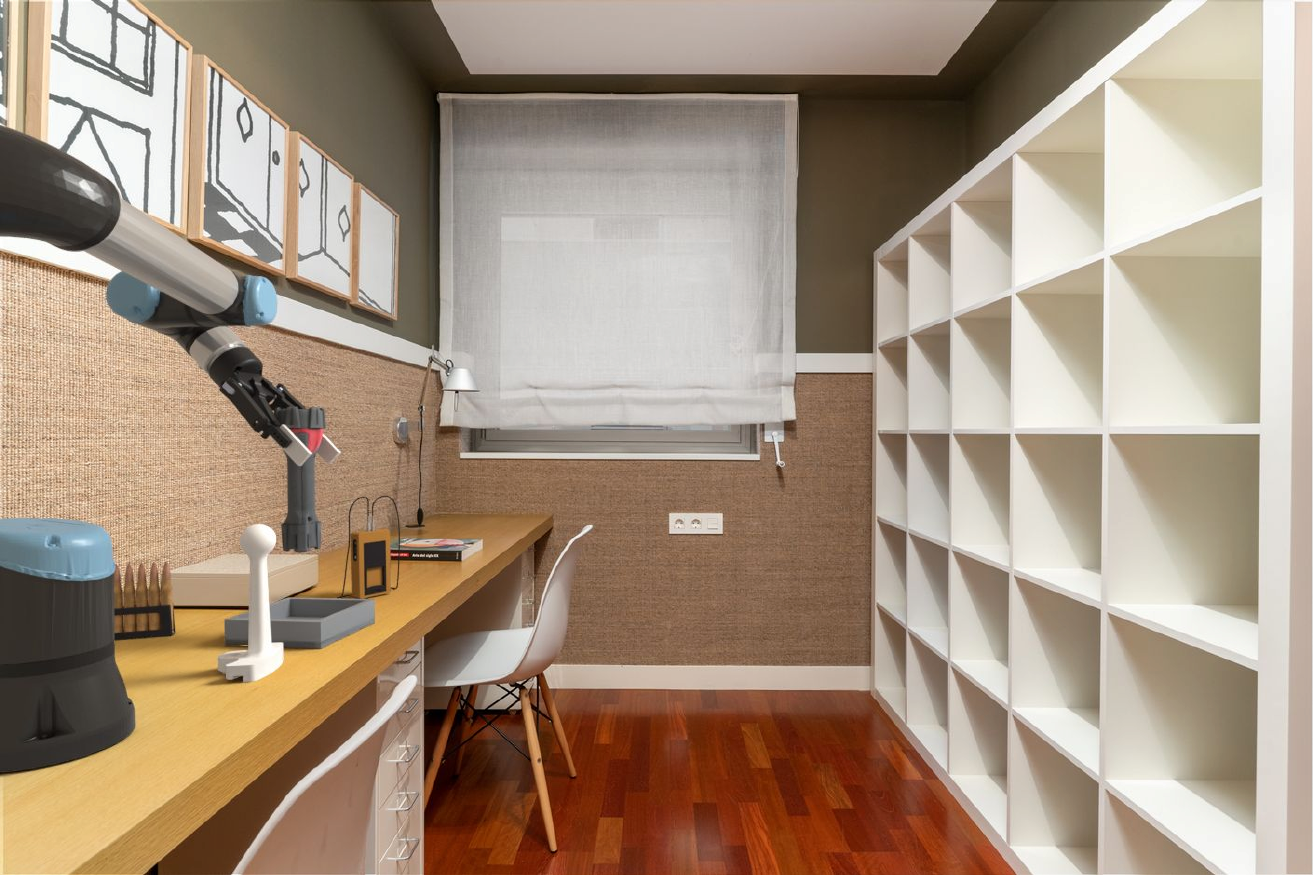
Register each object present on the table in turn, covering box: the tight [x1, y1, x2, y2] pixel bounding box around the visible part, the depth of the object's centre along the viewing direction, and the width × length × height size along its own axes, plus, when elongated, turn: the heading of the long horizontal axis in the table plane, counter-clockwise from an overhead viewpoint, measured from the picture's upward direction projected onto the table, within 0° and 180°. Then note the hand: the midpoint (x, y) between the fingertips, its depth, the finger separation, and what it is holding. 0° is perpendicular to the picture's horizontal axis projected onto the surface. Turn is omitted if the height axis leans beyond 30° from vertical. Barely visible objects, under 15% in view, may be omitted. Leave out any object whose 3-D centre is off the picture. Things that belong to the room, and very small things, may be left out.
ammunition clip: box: [114, 561, 177, 642], centre depth 126 cm, size 11×2×12 cm, turn 107°
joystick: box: [217, 523, 285, 683], centre depth 107 cm, size 11×8×20 cm
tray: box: [223, 596, 376, 650], centre depth 127 cm, size 16×16×4 cm
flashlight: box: [273, 406, 327, 554], centre depth 126 cm, size 8×8×23 cm
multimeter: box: [337, 495, 401, 599], centre depth 157 cm, size 15×10×20 cm
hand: (320, 458), depth 126 cm, fingers closed on flashlight, 7 cm apart
